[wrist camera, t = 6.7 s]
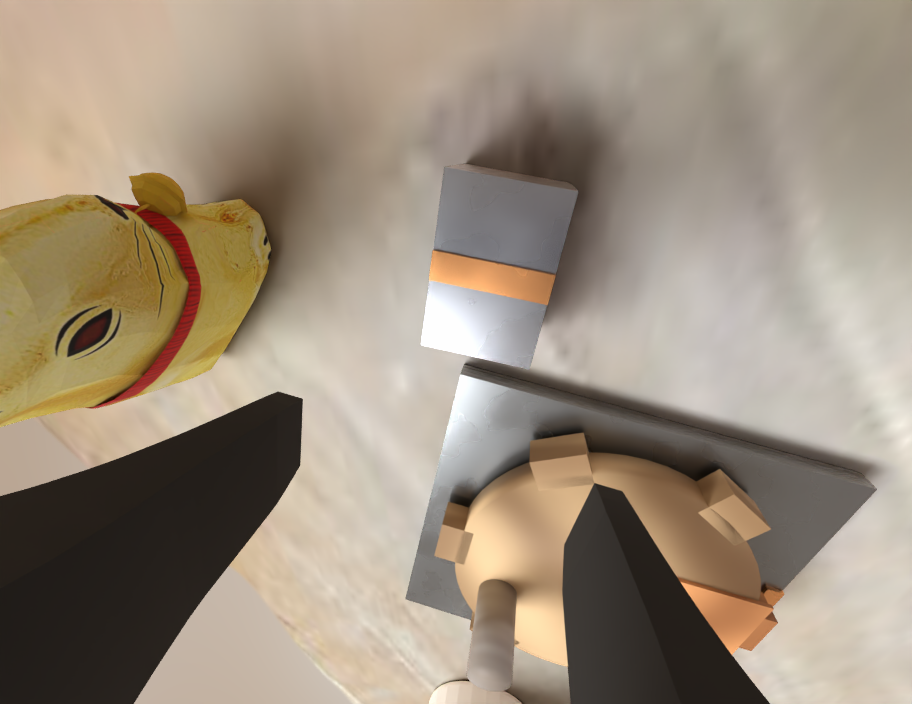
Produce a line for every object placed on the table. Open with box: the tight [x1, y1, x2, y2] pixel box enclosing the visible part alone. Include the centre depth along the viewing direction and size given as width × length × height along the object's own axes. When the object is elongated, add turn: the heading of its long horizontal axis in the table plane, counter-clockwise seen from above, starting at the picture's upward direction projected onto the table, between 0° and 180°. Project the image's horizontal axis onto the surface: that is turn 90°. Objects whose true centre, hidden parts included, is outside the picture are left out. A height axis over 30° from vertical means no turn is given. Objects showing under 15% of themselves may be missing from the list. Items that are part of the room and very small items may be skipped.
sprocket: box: [434, 432, 778, 692], centre depth 19 cm, size 16×15×6 cm
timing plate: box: [406, 364, 877, 620], centre depth 22 cm, size 18×17×1 cm
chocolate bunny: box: [0, 173, 272, 427], centre depth 13 cm, size 7×11×15 cm, turn 140°
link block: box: [421, 164, 579, 370], centre depth 15 cm, size 6×4×4 cm, turn 171°
